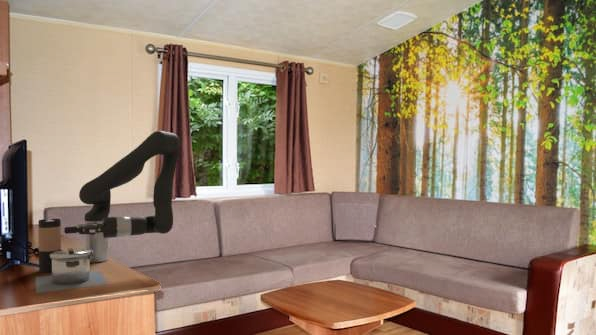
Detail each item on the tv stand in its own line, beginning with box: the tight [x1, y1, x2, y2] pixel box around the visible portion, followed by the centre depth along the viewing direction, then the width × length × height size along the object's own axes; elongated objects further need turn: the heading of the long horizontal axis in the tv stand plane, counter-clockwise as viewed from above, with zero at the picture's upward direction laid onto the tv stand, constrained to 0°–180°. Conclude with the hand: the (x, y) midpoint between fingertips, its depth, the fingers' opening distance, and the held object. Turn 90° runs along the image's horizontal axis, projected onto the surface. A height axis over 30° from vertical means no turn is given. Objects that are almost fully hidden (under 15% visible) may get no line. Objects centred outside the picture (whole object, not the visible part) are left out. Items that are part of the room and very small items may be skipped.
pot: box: [51, 254, 93, 285], centre depth 166 cm, size 16×13×9 cm
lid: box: [50, 247, 95, 259], centre depth 166 cm, size 13×14×2 cm
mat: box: [34, 269, 109, 294], centre depth 166 cm, size 22×22×1 cm
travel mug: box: [38, 218, 62, 274], centre depth 179 cm, size 8×8×20 cm
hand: (64, 230), depth 165 cm, fingers closed
